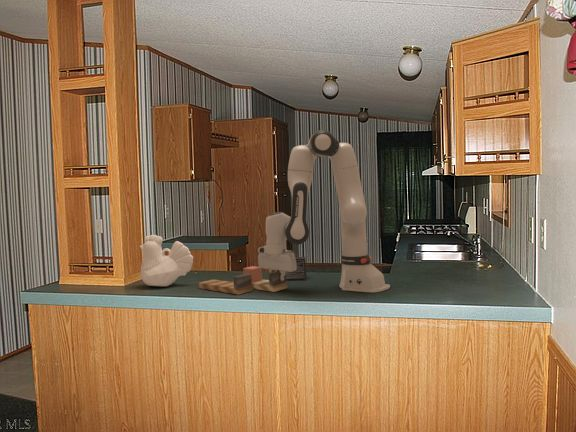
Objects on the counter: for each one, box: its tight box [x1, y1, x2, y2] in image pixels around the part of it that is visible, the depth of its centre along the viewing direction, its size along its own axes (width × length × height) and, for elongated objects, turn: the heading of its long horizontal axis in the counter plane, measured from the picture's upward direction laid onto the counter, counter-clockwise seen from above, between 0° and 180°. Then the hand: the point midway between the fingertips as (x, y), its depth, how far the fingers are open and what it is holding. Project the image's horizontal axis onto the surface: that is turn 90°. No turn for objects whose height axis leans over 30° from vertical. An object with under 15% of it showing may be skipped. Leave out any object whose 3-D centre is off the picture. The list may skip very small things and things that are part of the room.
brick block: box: [242, 265, 263, 282], centre depth 258 cm, size 6×6×6 cm
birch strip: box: [232, 270, 288, 293], centre depth 255 cm, size 26×9×8 cm, turn 49°
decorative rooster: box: [139, 234, 194, 287], centre depth 266 cm, size 25×16×25 cm, turn 77°
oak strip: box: [198, 273, 254, 295], centre depth 253 cm, size 26×9×8 cm, turn 49°
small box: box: [286, 256, 307, 281], centre depth 271 cm, size 11×6×10 cm, turn 84°
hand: (277, 279), depth 248 cm, fingers closed on birch strip, 3 cm apart
